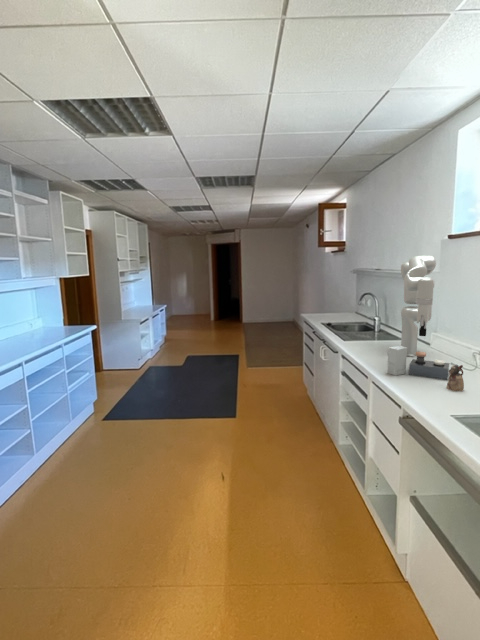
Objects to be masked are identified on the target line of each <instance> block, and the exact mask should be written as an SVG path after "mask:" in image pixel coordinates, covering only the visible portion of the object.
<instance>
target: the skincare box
mask: <svg viewBox="0 0 480 640" xmlns="http://www.w3.org/2000/svg"><path fill="white" fill-rule="evenodd" d="M407 358H408V356H407V348H406V347H403V346H401V345H395V346H391V347H388V352H387V374H389V375H391V376H395V377H397V376H400V375H405V374H406V373H407Z"/></svg>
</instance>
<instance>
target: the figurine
mask: <svg viewBox="0 0 480 640" xmlns="http://www.w3.org/2000/svg"><path fill="white" fill-rule="evenodd" d="M462 368H464V365H463V364H460V365H458V364H457V363H455V364H453V365H451V367H450V368H449V375H448V379H447V383H446V389H447V390H449V391H453V392H462V391H464V387H465V384H464V377H463V375H464V371H463V369H462ZM460 372H461V373H460Z"/></svg>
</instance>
